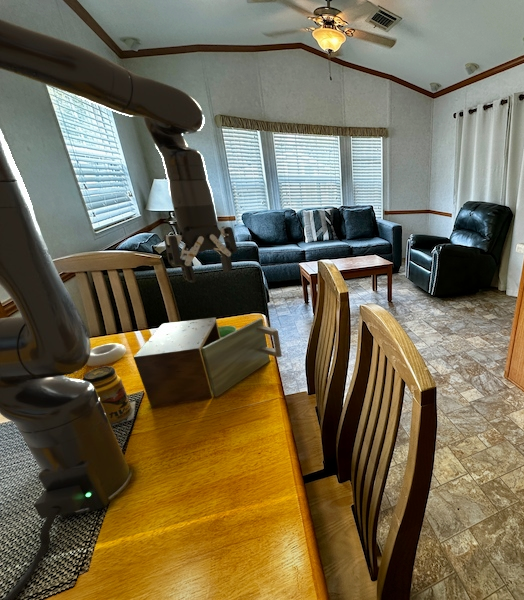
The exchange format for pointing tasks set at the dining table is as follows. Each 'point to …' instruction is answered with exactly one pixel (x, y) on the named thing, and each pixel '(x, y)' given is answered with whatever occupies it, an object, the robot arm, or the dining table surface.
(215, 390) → the door
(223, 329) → the ramekin
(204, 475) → the dining table surface
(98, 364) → the donut
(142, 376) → the cupboard
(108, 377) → the condiment
